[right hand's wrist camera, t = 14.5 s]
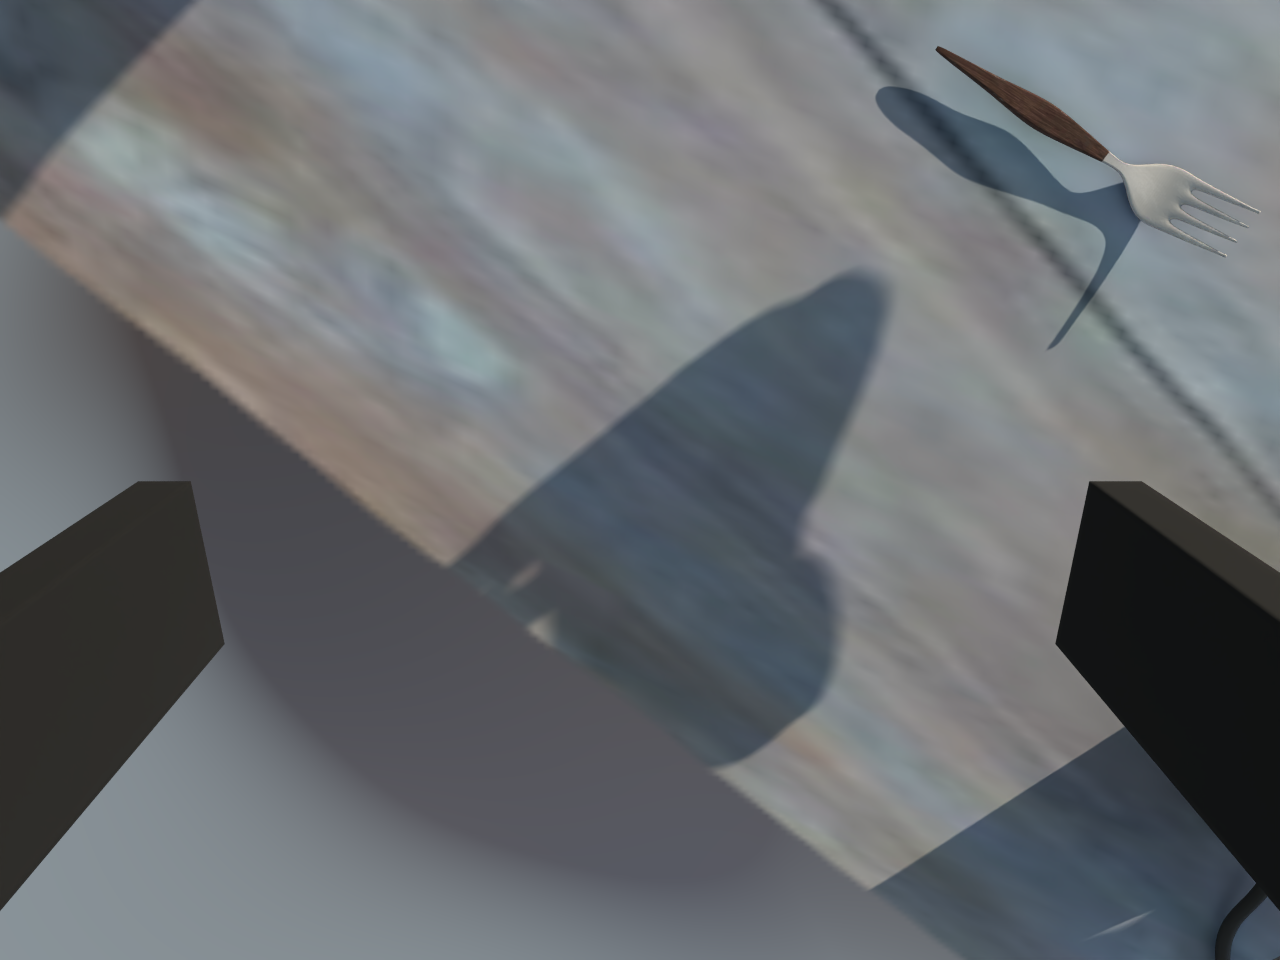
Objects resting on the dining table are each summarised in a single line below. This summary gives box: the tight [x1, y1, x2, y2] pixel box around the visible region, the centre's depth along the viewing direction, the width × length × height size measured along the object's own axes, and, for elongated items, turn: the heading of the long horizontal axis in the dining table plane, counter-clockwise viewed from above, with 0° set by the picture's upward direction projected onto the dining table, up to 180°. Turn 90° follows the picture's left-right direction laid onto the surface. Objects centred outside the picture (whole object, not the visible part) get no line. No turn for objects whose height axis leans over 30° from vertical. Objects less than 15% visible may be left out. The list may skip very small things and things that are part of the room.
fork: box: [936, 46, 1260, 257], centre depth 37 cm, size 3×16×2 cm, turn 62°
